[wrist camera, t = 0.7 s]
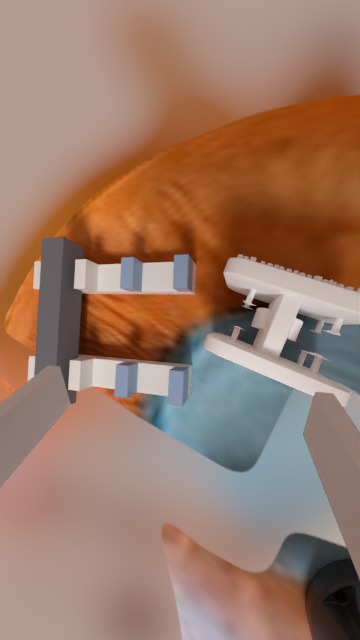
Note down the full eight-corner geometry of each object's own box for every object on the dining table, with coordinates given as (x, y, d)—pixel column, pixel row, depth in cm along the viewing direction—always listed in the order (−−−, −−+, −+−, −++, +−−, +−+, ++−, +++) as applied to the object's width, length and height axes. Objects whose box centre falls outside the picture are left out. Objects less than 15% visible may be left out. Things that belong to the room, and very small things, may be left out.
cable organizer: (207, 339, 33) (191, 345, 22) (233, 274, 33) (229, 246, 21) (310, 382, 29) (353, 415, 18) (341, 309, 29) (406, 298, 18)
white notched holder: (191, 393, 34) (182, 406, 28) (55, 376, 41) (27, 383, 35) (196, 265, 34) (188, 254, 29) (61, 270, 41) (34, 261, 36)
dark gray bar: (75, 402, 36) (53, 412, 32) (56, 398, 37) (32, 408, 33) (84, 247, 37) (63, 236, 33) (64, 248, 38) (42, 238, 34)
